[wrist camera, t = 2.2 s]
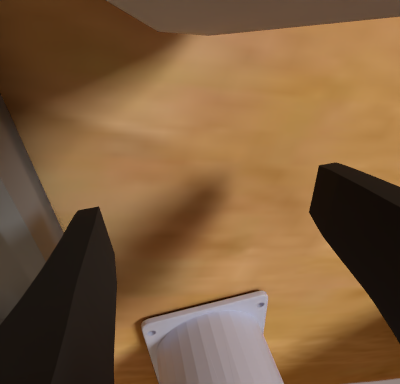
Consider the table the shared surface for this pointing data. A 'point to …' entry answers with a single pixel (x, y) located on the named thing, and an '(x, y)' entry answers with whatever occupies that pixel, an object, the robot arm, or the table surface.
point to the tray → (21, 218)
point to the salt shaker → (251, 14)
